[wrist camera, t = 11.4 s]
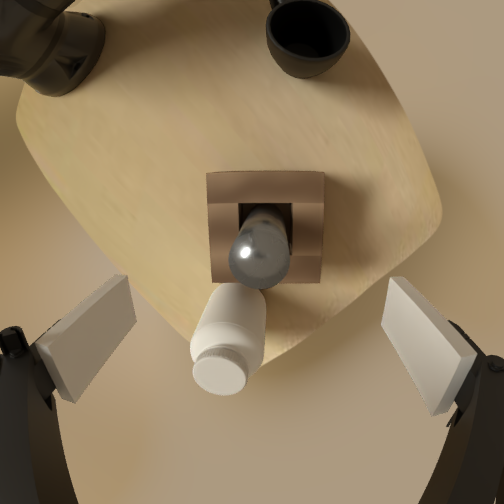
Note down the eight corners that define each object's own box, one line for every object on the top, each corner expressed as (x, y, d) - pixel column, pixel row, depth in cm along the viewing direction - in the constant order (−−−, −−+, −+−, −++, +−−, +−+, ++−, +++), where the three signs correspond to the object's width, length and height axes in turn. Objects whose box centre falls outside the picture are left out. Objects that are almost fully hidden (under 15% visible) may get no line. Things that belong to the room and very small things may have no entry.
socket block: (217, 172, 33) (206, 173, 28) (315, 171, 33) (324, 172, 27) (221, 264, 37) (212, 282, 31) (312, 264, 36) (319, 283, 30)
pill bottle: (198, 306, 39) (165, 375, 25) (233, 267, 37) (211, 329, 23) (241, 338, 40) (228, 414, 26) (278, 303, 38) (281, 376, 24)
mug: (301, 8, 26) (309, -30, 17) (342, 78, 29) (365, 51, 19) (245, 25, 27) (237, -13, 18) (283, 96, 30) (288, 71, 21)
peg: (246, 203, 33) (226, 231, 19) (284, 203, 32) (290, 230, 19) (247, 239, 34) (229, 288, 21) (284, 239, 34) (289, 289, 20)
